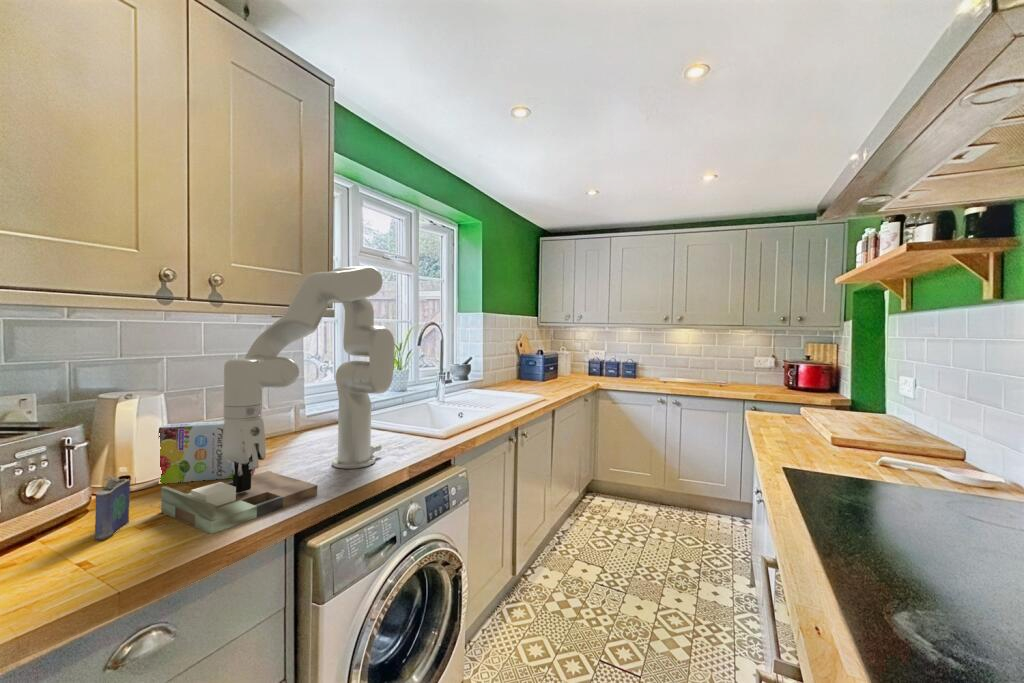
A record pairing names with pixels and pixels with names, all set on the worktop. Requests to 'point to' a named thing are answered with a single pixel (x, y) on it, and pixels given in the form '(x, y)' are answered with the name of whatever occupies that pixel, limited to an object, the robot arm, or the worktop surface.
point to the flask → (112, 508)
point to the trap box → (237, 502)
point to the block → (215, 493)
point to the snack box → (193, 452)
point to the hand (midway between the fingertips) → (242, 490)
